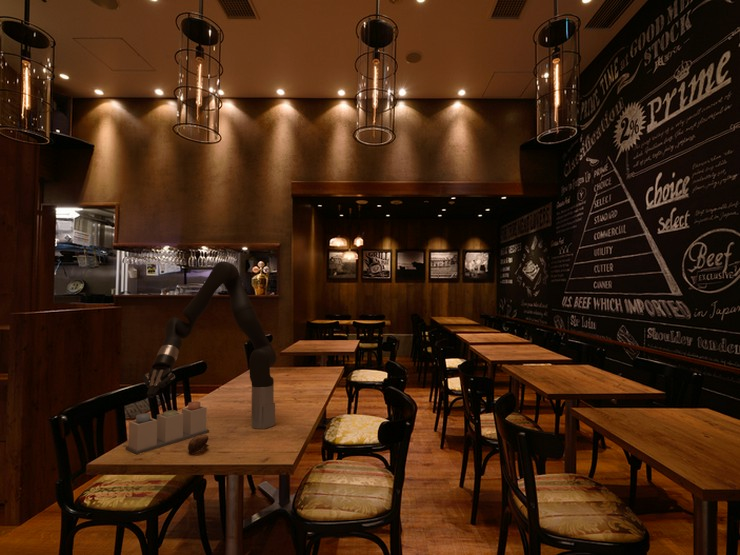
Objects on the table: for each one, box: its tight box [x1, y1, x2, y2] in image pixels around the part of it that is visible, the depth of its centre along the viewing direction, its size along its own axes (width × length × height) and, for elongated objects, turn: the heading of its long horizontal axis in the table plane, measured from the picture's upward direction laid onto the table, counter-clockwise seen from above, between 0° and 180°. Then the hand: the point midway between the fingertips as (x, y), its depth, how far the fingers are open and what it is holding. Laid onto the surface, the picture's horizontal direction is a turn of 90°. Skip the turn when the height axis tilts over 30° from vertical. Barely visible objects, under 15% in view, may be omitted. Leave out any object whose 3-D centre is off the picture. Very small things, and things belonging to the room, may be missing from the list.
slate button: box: [135, 412, 151, 424], centre depth 146 cm, size 5×5×3 cm
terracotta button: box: [187, 400, 201, 411], centre depth 163 cm, size 5×5×3 cm
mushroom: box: [187, 434, 210, 455], centre depth 143 cm, size 8×8×6 cm
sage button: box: [162, 409, 178, 417], centre depth 154 cm, size 5×5×3 cm
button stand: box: [125, 405, 210, 455], centre depth 154 cm, size 9×28×10 cm, turn 144°
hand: (150, 396), depth 149 cm, fingers closed
